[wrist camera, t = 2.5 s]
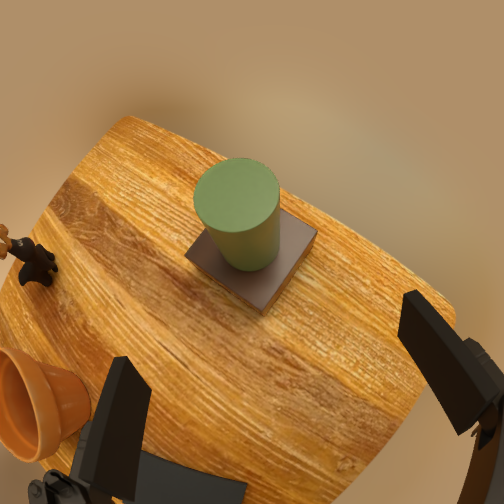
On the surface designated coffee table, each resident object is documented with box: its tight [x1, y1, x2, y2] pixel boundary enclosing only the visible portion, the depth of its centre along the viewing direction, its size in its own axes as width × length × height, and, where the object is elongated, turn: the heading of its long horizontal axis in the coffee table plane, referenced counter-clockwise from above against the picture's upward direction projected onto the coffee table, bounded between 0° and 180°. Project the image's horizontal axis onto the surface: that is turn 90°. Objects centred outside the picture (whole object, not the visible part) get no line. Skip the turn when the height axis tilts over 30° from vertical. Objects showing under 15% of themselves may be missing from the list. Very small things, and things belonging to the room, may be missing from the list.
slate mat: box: [123, 450, 247, 504], centre depth 23 cm, size 16×12×1 cm
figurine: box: [0, 224, 58, 287], centre depth 28 cm, size 11×7×15 cm
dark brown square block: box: [184, 208, 318, 316], centre depth 30 cm, size 10×10×5 cm
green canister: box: [193, 158, 280, 271], centre depth 23 cm, size 6×6×10 cm
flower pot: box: [0, 347, 91, 463], centre depth 22 cm, size 14×14×13 cm
